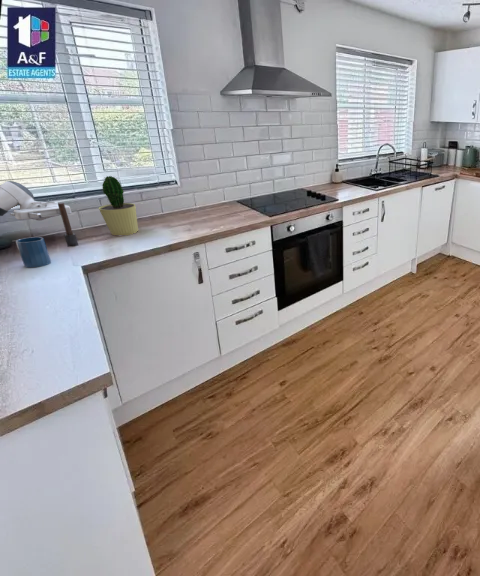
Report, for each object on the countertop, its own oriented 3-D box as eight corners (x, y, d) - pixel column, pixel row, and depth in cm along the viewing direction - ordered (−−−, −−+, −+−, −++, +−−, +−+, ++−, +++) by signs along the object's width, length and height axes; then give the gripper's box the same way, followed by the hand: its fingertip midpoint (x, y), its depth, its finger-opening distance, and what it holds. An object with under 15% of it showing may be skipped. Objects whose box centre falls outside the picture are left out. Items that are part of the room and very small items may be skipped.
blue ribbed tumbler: (22, 268, 141) (13, 243, 138) (26, 262, 148) (18, 238, 144) (49, 265, 145) (41, 241, 142) (52, 260, 152) (45, 236, 148)
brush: (67, 248, 166) (54, 204, 159) (68, 246, 169) (55, 202, 162) (78, 247, 168) (66, 203, 161) (79, 245, 171) (67, 202, 164)
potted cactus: (105, 234, 191) (86, 174, 178) (139, 228, 200) (123, 171, 187) (110, 241, 181) (89, 178, 168) (145, 235, 190) (129, 175, 177)
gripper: (5, 207, 164) (20, 210, 159) (60, 201, 181) (75, 204, 176) (10, 221, 167) (25, 225, 161) (63, 214, 184) (78, 217, 178)
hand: (51, 214), depth 168 cm, fingers open, 8 cm apart
